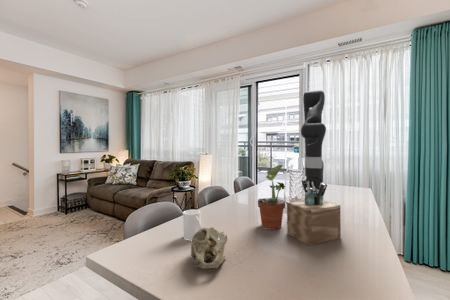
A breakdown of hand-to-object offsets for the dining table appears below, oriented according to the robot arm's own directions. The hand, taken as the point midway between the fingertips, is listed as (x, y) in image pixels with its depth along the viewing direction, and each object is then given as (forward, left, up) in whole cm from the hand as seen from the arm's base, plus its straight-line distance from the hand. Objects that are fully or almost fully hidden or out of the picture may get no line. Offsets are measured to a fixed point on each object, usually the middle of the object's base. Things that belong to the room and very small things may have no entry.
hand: (313, 203), depth 102 cm
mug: (-21, -52, -15) cm, 58 cm away
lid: (0, 0, -1) cm, 1 cm away
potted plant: (-20, -10, -15) cm, 27 cm away
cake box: (-1, 0, -15) cm, 15 cm away
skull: (+1, -52, -15) cm, 54 cm away
